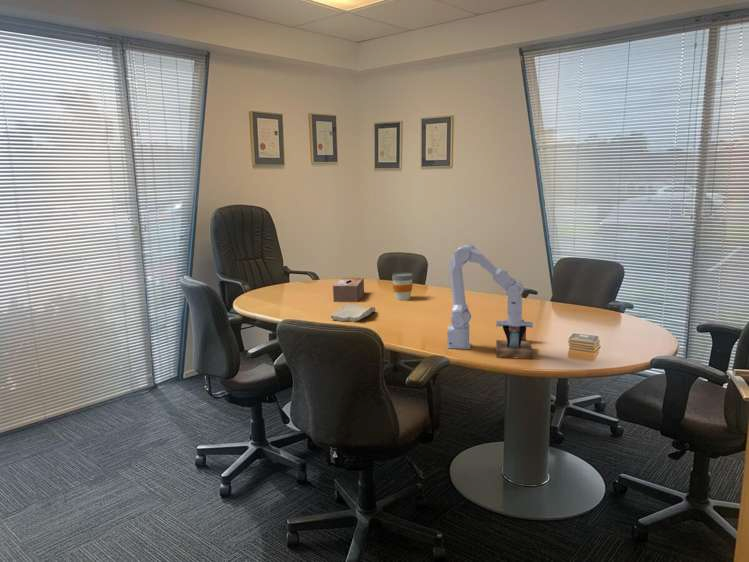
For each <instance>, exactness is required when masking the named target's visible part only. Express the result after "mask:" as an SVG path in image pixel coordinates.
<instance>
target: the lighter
mask: <svg viewBox="0 0 749 562" xmlns="http://www.w3.org/2000/svg"><path fill="white" fill-rule="evenodd" d="M522 321H525V319H524V318H522ZM512 330H515V331H519V327H509V331H512ZM526 337H527V330H526V331H525V333H524V335H523V337H522V340H521V341H527V338H526Z"/></svg>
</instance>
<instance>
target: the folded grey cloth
mask: <svg viewBox="0 0 749 562" xmlns="http://www.w3.org/2000/svg"><path fill="white" fill-rule="evenodd" d="M375 312H376V307H375V306H370V307H365V306H362V305H359V304H355V303H352V304H344V305H342V306H340V307H338V308H336V310H335V311H334V312H333V313H331V315H330V318H331V319H332V320H334V321H338V322H353V323H356V322H359V321H361V320H362V319H365V318H366V317H368V316H369V315H371V314H372V313H375Z"/></svg>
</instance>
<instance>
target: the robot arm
mask: <svg viewBox="0 0 749 562" xmlns="http://www.w3.org/2000/svg"><path fill="white" fill-rule="evenodd" d="M467 262H469V263H476V264H478V265H479V266H481V267H482V268H483V269H485V271H486V272H488V273H490V274H491V275H492V280H493V281H494V282H495V283H496V284H497V285H499V286H500V287H501V288H502V289H503V290H504V291H505V292H506V295H507V311H506V312H507V317H506V318H507V319H506V320H496V322H495V326H496V327H497V328H498V327H502V329H503V333H504V334H505V337H506V340H507V343H508V344H509V327H519V345H521V340H522V337H523V335H524V333H525V331H526V332H527V328H532V329H533V328H534V322H533V321H525V320H524V321H522V319H523V318H522V317H523V294H524V293H523V292H524V290H525V287H524V285H523V283H522V282H521V281H519V280H517V279H516V278H513V277H512V276H511V275H510V274H509V271H508V270H506V269H505V270H504V269H503V268H498V267H496V266H495V264H493V263H492V261H490V259H488V258H487V257H486V255H484V254H483V252H482V251H481V250H480V249H478V248H477V247H475V246H474V245H473V244H472V243H471V244H470V243H468V244H465V245H462V246H459V247H458V248H456V249H455V250H454V251H453V255H452V256H451V259H450V261H449V264H448V265H449V266H448V267H449V268H448V269H449V276H450V284H451V285H450V286H451V293H452V294H451V295H452V301H453V302H452V303H453V307H452V308H451V317H450V323H451V325H447V340H446V342H447V349H461V350H462V349H463V350H466V349H467V350H469V349H471V342H470V324H469V322H470V321H471V318H472V313H471V312H470V311H469V306H468V304H467V303H466V293H465V283H464V276H463V267H464V265H465V264H466V263H467Z"/></svg>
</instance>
